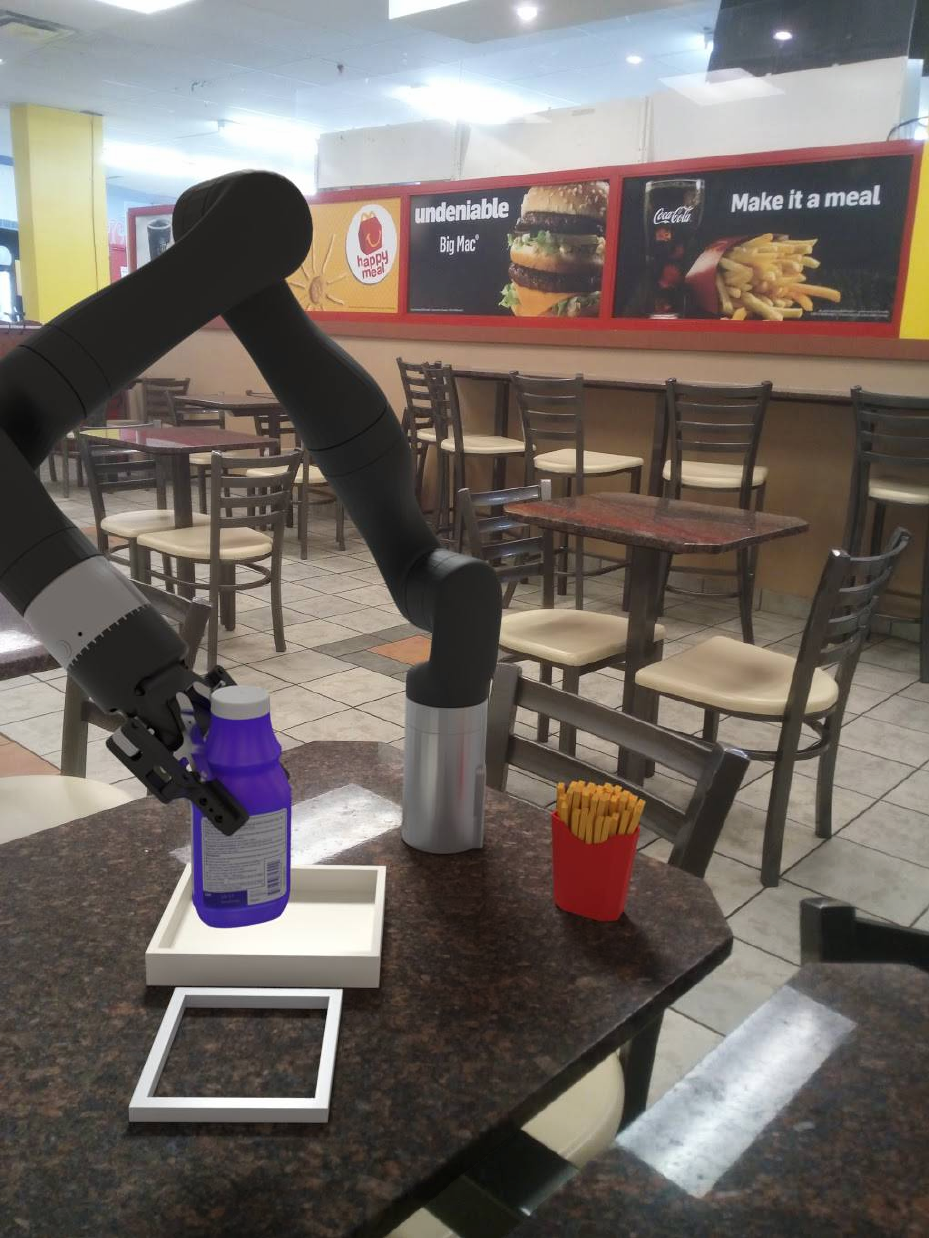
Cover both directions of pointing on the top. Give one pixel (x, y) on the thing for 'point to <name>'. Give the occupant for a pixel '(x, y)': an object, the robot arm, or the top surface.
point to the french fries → (594, 848)
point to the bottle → (261, 849)
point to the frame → (238, 1108)
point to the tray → (280, 936)
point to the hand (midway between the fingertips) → (261, 805)
